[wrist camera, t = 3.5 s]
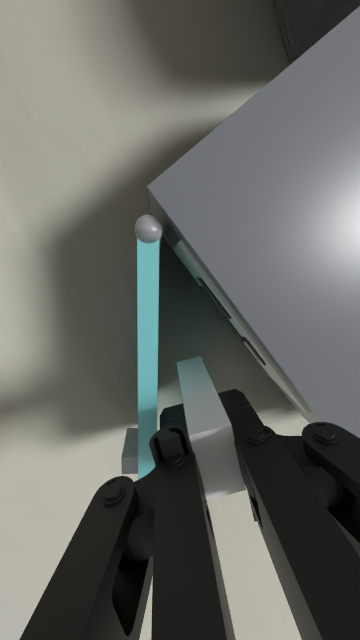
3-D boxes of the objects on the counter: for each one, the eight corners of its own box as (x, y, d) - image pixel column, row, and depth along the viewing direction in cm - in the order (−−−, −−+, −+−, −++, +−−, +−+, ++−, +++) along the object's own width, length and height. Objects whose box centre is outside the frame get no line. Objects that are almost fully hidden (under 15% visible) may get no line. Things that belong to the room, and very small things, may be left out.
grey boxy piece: (149, 225, 15) (138, 183, 8) (288, 109, 14) (429, -64, 7) (306, 429, 19) (403, 538, 11) (421, 346, 18) (606, 404, 11)
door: (128, 233, 15) (108, 212, 9) (161, 235, 15) (162, 215, 9) (130, 424, 17) (116, 506, 11) (158, 424, 17) (158, 503, 12)
